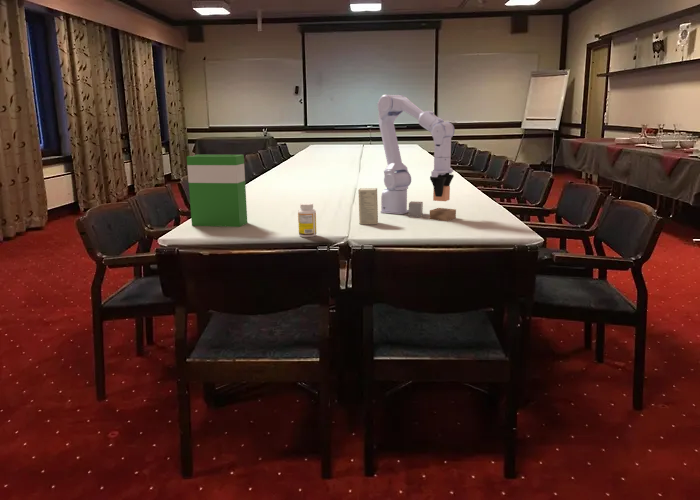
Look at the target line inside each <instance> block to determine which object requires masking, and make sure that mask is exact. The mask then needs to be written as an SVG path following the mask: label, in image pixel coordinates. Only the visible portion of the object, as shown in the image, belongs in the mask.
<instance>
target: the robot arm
mask: <svg viewBox="0 0 700 500" xmlns="http://www.w3.org/2000/svg"><path fill="white" fill-rule="evenodd" d="M376 104H377V105H376V106H377V111H378V126H379V131H380V135H381V139H382V144H383V148H384V155H385V159H386V163H387V165H386V168H385V169H384V170H383V174H384V177H383V183H384V186H385V187H386V188H384V189H383V190H382V192H381V196H380V197H381V198H380V199H381V204H380V205H381V210H380V213H381V214H382V213H383V214H394V215H404V214H407V213H409V209H408V189H409V186H410V185H411V183H412V176H411V173H410V172H409V170H408V167H407V166H406V165H405V164H404V163H403V162H402V161H403V160H402V157H401V156H402V155H401V152H400V151H401V150H400V148H399V142H398V137H397V134H396V133H397V132H396V128H395V121H396V119H397V118H398V117H399V116H400V115H401V114H402V113H403V112H405V113H406V114H407V115H409V116H411V117H413V118H415V119H416V120H418V125H420V127H422V128H423V129H425V130H427V131H428V132H429V133H430V134H431V136H432V139H433V144H434V146H433V147H434V150H433V155H434V156H433V157H434V158H433V170H432V171H431V175H430V177H429V180H430V182H431V184H432V187H433V191H435V195H436V196H438V197H442V193H443V187H444V186H450V185H451V183H452V180H453V178H454V174H453V173H454V169H453V168H452V167H451V156H452V155H451V152H452V138H453V136H454V135H455V131H456V130H455V126H454V124H453V123H451V121H444V119H443V118H441V117H438V116H437V115H436V114H434V113H435V112H434V111H432V110H425V111H424V110H422V109H421V108H419V107H418V106H417V105H416V104H415V103H413V102H412V101H411V100H409V98H408V97H406V96H404V95H403V94H382V95H381V96H380V97H379V99H378V102H377V103H376ZM450 187H451V186H450Z"/></svg>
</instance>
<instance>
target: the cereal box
mask: <svg viewBox="0 0 700 500" xmlns="http://www.w3.org/2000/svg"><path fill="white" fill-rule="evenodd" d="M186 167H187V168H186V169H187V178H188V179H187V180H188V190H189V191H188V192H189V205H190V218H191V226H192V227H223V228H224V227H225V228H226V227H230V228H232V227H234V228H240V227H242V226H245V225H246V224H248V210H247V209H248V207H247V193H246V192H247V191H246V188H247V187H246V172H245V171H246V170H245V156H244V154H195V155H188V156H186Z"/></svg>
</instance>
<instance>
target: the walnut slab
mask: <svg viewBox="0 0 700 500" xmlns="http://www.w3.org/2000/svg"><path fill="white" fill-rule="evenodd" d="M456 218H457V209H455V208H448V207H447V208H444V207H435V208H433V209H430V210H429V220H432V221H434V220H435V221H443V222H449V221H452V220H454V219H456Z"/></svg>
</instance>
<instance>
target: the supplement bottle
mask: <svg viewBox="0 0 700 500" xmlns="http://www.w3.org/2000/svg"><path fill="white" fill-rule="evenodd" d="M316 213H317V210H316V209H314V203H312V202H302V203H300V209H299V210H298V212H297V215H298V216H297V217H298V220H297V221H298V235H299V237H300V238H301V237H302V238H313V237H315V236H316V235H317V214H316Z"/></svg>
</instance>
